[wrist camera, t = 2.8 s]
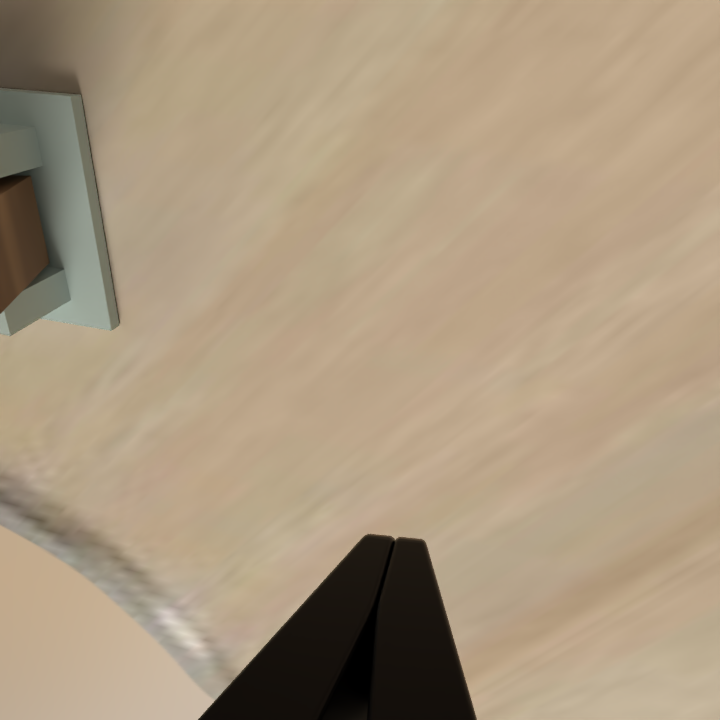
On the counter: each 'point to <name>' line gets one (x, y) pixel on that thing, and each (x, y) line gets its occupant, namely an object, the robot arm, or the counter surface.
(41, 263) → the brown wooden post
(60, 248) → the bracket
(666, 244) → the counter surface
